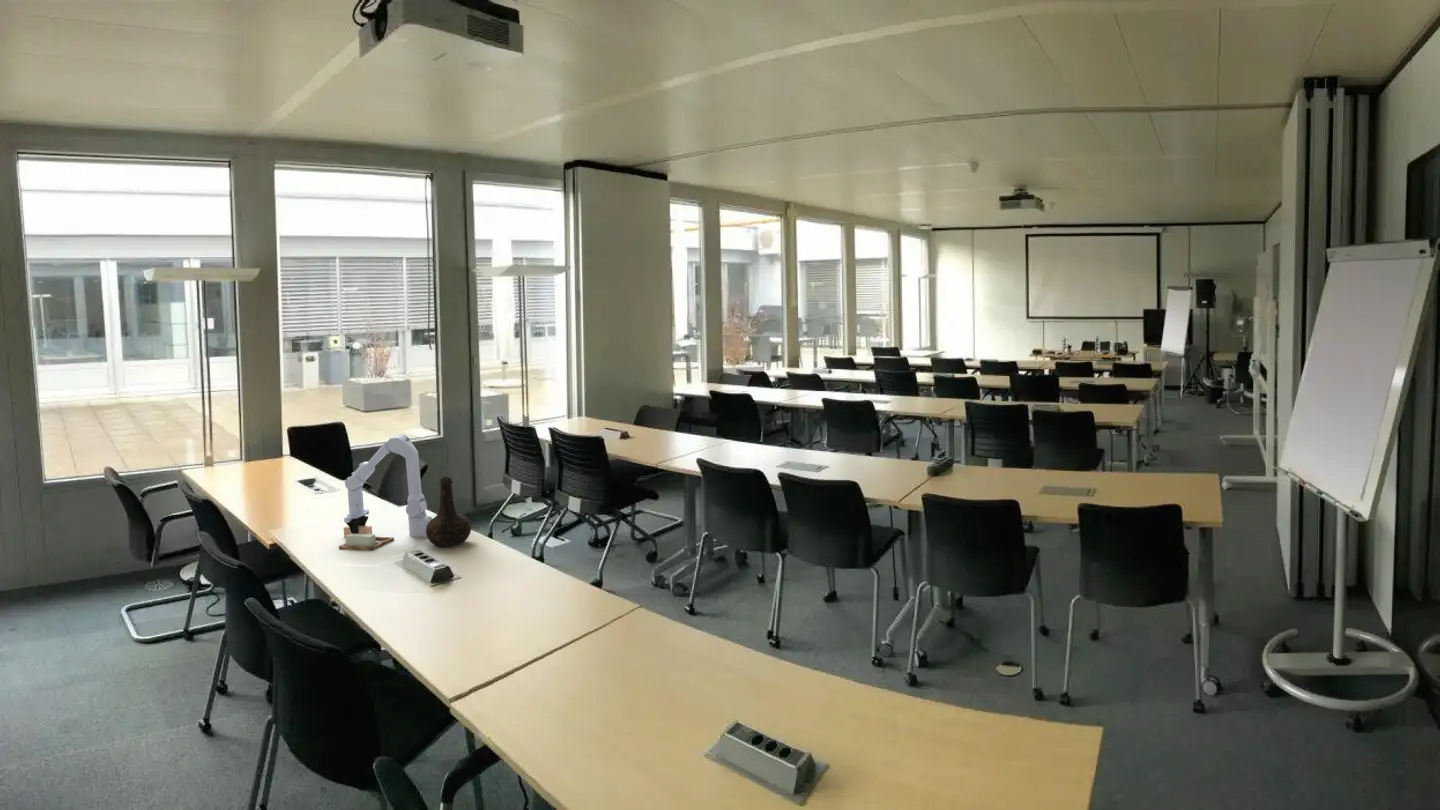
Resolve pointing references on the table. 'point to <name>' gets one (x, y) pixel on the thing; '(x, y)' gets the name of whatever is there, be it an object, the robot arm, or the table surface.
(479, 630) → the table surface
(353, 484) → the robot arm
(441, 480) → the glass bottle
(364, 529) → the peach rectangular block
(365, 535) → the grey-green block
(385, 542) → the rack
